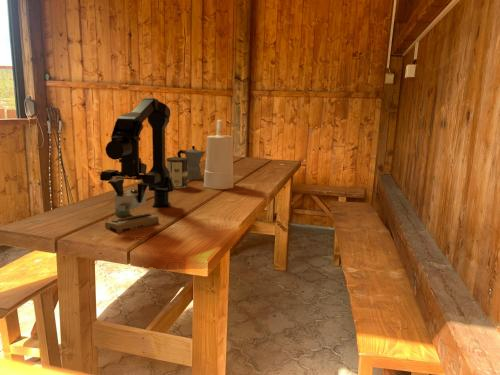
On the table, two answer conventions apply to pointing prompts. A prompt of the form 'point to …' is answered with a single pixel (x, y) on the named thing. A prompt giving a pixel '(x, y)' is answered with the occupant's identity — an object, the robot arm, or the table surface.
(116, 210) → the cylinder
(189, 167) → the coffeepot
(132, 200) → the housing
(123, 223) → the computer
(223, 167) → the paper towel roll holder
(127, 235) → the table surface
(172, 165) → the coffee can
